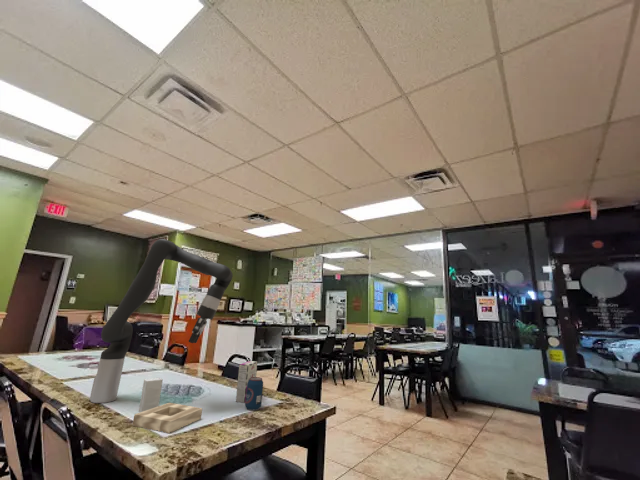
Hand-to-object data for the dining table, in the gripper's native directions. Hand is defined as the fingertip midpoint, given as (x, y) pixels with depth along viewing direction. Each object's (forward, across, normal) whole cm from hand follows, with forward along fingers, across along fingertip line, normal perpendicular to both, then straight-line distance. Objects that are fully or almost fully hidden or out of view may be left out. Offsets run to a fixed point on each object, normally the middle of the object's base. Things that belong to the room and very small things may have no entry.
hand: (192, 342), depth 129 cm
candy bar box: (+17, -15, +32) cm, 39 cm away
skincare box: (+29, 0, -4) cm, 29 cm away
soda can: (+17, -1, +35) cm, 39 cm away
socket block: (+27, +12, +6) cm, 30 cm away
